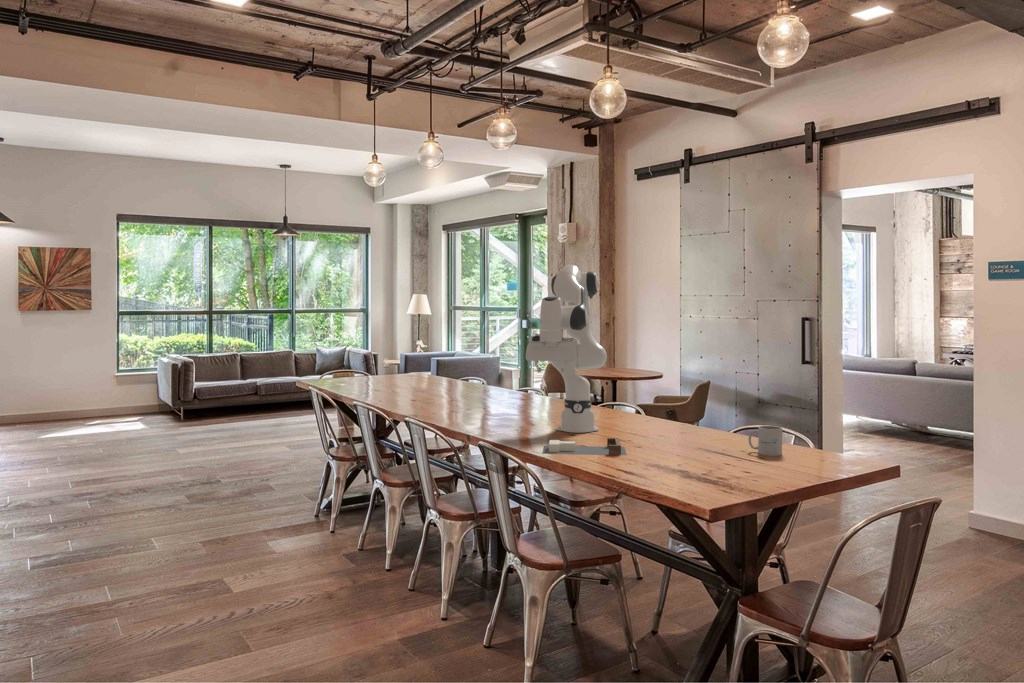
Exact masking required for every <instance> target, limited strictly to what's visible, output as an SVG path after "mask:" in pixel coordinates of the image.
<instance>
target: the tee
mask: <svg viewBox="0 0 1024 683" xmlns="http://www.w3.org/2000/svg"><path fill="white" fill-rule="evenodd" d="M548 446H549V452H559V451H575V446H576V441H568V440H567V441H566V440H565V441H561V440H559V439H550V440H549V442H548Z"/></svg>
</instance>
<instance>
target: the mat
mask: <svg viewBox="0 0 1024 683" xmlns="http://www.w3.org/2000/svg"><path fill="white" fill-rule="evenodd" d="M541 454H542V455H585V456H586V455H591V456H592V455H596V456H598V455H599V456H600V455H602V456H603V455H604V456H610V455H609V447H607V446H593V445H592V446H589V445H587V446H582V445H580V446H579V445H578V446H577V445H575V451H559V452H549V445H543V447H542V451H541ZM627 455H628V454H627V450H626V447H625V446H621V455H620V456H627Z"/></svg>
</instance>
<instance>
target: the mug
mask: <svg viewBox="0 0 1024 683" xmlns="http://www.w3.org/2000/svg"><path fill="white" fill-rule="evenodd" d="M755 433H756V434H758V438H757V439H758V442H757V443H758V444H757V446H755V445H753V443H752V436H753V434H755ZM748 445H749V446H750V448H751V449H753V450H758V451H757V452H758V453H757V454H759V455H761V454H762V455H761V456H768V457H769V456H771V457H777V456H782V455H783V427H780V426H776V425H775V426H774V425H759V426H758V429H754V430H752V431H751V432H750V433H749V434H748Z"/></svg>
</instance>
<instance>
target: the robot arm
mask: <svg viewBox="0 0 1024 683" xmlns="http://www.w3.org/2000/svg"><path fill="white" fill-rule="evenodd" d="M600 282H601V281H600V279H599V275H598V274H597V273H596V272H594V271H581V270H580V269H579V267H577V266H576V265H574V264H566V265H564V266H562V267H561V268H560V270H559V271H558V273H557V274H556V275H554V276H553V277H552V278H551V283H550V288H551V292H552V294H553V295H554V296H546V297H543V298H542V299H541V303H540V311H539V312H540V313H539V315H540V316H539V317H540V319H539V322H540V328H539V333H537V334H535V335H532V336H531V335H530V336H529V337H528V341H529V342H528V344H527V346H526V350H525V360H526V361H529V362H530V361H531V362H532V361H534V366H535V367H536V372H537V373H542V367H539V362H544V361H545V362H550V363H551V365H552V366H553V368H555V369H556V370H557V371H558V372H559V373H560V374H561V377H562V379H563V381H564V387H565V389H564V390H565V399H564V403H563V404H564V409H563V410H562V411H561V413H560V425H559V426H557V427H556V431H561V432H562V431H563V432H565V433H574V434H575V433H579V434H580V433H590V432H597V431H600V430H599V427H597V426H596V425H595V412H594V410H592V400H591V384H590V381H589V379H587V378H586V377H583V376H581V375H580V374H578V373H577V370H595V369H599V368H600V369H601V368H603V367H604V365H605V364H606V362H607V360H608V355H607V352H606V349H605V348H604V347H603V346H602V345H600V344H599V343H598V342H597V340H596V339H595V337H594V336H593V335H594V334H593V333H592V312H591V311H592V310H591V309H592V308H591V301H590V300H591V299H593V297H594V296H596V294H597V293H598V292H599V289H600V284H601V283H600ZM562 301H563V302H568V303H567V305H563V304H562ZM563 330H566V332H567V334H568V335H569V337H564V336H563ZM578 342H579V343H578Z"/></svg>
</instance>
